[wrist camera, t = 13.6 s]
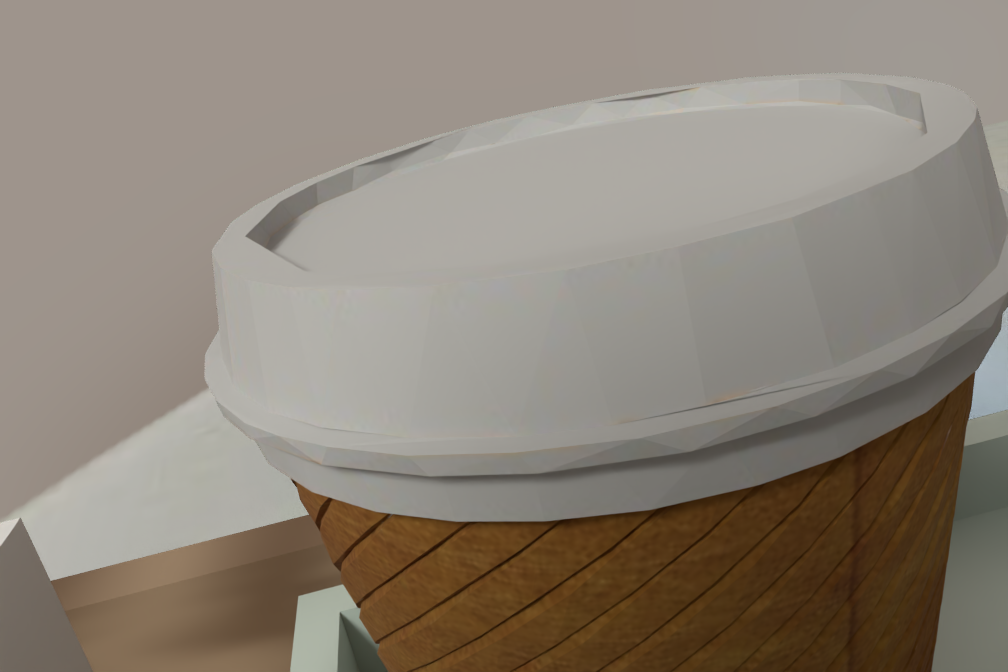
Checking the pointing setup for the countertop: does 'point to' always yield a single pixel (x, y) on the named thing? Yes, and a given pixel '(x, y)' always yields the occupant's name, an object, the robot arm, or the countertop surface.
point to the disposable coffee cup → (633, 374)
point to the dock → (201, 603)
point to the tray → (963, 614)
